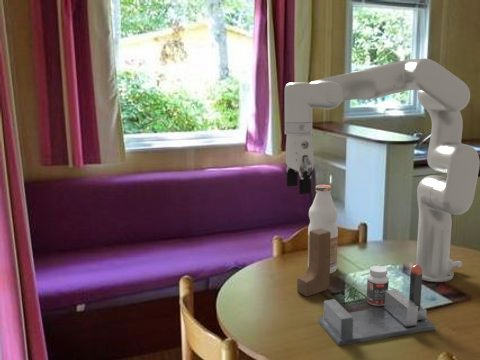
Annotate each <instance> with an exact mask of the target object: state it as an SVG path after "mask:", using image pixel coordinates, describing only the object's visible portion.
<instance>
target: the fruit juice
mask: <svg viewBox="0 0 480 360" xmlns="http://www.w3.org/2000/svg"><path fill="white" fill-rule="evenodd" d="M315 192H316V193H315V197H314V199H313V201H312V204H311V206H310V207H309V208H308V209H309V210H308V218H309V224H308V227H307V229H308V230H307V267H308V266H309V238H310V231H312V230H316V229H320V228H321V229H324V230H326V231H329V232H330V233H331V234H330V275H331V274H333V273H335V272H336V271H337V269H338V238H339V230H338V225H337V219H338V214H339V213H338V209H337V207H336V205H335V203H334V200H333V197H332V194H331V192H332V186H331V185H330V184H329V185H328V184H318V185H316V186H315Z"/></svg>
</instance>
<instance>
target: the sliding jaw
mask: <svg viewBox="0 0 480 360" xmlns="http://www.w3.org/2000/svg"><path fill="white" fill-rule="evenodd" d="M410 271H411V272H410V276H409V277H410V278H409V293H408V295H409V296H408V297H409V298H408V297H407V296H405V295H404V294H403V293H402V292H400V291H398V290H397V289H388V291H385V305H384V307H385V309H386V310H387V311H389V312H390V313H391V314H392V315H393V316H394V317H396V318H397V319H398V320H399V321H400V322H401V323H403V324H404V325H405V326H406V327H407V326H413V325H417V320H421V319H426V318H427V313H428V311H427V309H426V308H425V307H424V306H422V305H421V300H422V285H423V280H422V271H423V270H422V267H421V266H420V265H416V264H414V265H412V266H411V267H410Z"/></svg>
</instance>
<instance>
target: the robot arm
mask: <svg viewBox="0 0 480 360" xmlns="http://www.w3.org/2000/svg"><path fill="white" fill-rule="evenodd" d="M408 91H417V100H418V102H419V103H420V105H421V106H422V107H423V108H424V109H425V111H427V113H428V114H429V117H430V120H431V130H430V131H431V132H430V137H429V138H430V139H429V144H428V150H427V151H428V152H427V158H426V160H427V161H426V162H427V165H428V166H429V168H431V169H432V170H434V171H437V172H439V173H442V174H446V177H444V176H443V175H436V174H432V175H427V176H425V177H423V178H422V179H421V180H420V182H419V183H418V185H417V190H416V195H417V196H416V198H417V205H418V225H417V226H418V228H417V239H416V240H417V243H416V257H415V258H416V260H415V265H420V266H421V267H422V270H423V271H422V281H426V282H432V283H433V282H434V283H445V282H449V281H451V280H452V279H453V278H454V271H453V269H455V268H461V267H463V262H462V261H461V260H455V261H454V260H453V259H451V258H450V252H451V250H450V249H451V241H452V239H451V238H452V225H453V224H452V223H453V221H452V220H453V219H452V215H455V216H456V215H457V216H458V215H463V214H464V213H466V212H467V211H469V209H470V208H471V206H472V204H473V201H474V199H475V193H476V188H477V182H478V176H479V171H480V156H479V153H478V151H477V150H476V149H475V148H474V147H473V146H472V145H469V144H465V143H462V137H463V130H464V129H463V128H464V125H463V123H464V122H463V117H462V116H463V115H462V114H461V111H462V110H463V109H465V108H466V107H467V106H468V104H469V102H470V99H471V90H470V88H469V86H468V85H467V84H466V82H464V80H462V79H460V78H459V77H458V76H457V75H455V74H453V72H451V71H449V70H448V69H447V68H445V67H444V66H443V65H441V64H440V63H438V62H436V60H433V59H430V58H409V59H404V60H400V61H395V62H392V63H386V64H383V65H378V66H374V67H368V68H365V69H359V70H356V71H352V72H349V73H347V72H346V73H344V74H338V75H332V76H330V77H329V76H328V77H323V78H320V79H317V80H313V81H310V82H308V81H307V82H303V81H299V82H295V81H294V82H288V83H286V84H285V86H284V135H286V138H285V139H286V142H285V166H286V169H285V171H286V187H297V186H298V194H299V195H306V194H308V195H309V194H311V187H312V186H311V185H312V174H313V172H312V171H313V170H314V162H315V161H314V160H315V159H314V144H313V137H312V134H313V113H314V112H313V111H314V109H321V110H332V109H333V110H334V109H335V108H337V107H339V106H340V105H341V104H342V102H344V101H355V100H360V101H361V100H362V101H363V100H366V101H367V100H374V99H375V100H376V99H379V98H382V97H386V96H390V95H391V96H392V95H394V94H399V93H404V92H408ZM298 175H299V179H298ZM410 273H411V270H410Z"/></svg>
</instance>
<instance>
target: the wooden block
mask: <svg viewBox="0 0 480 360" xmlns="http://www.w3.org/2000/svg"><path fill="white" fill-rule="evenodd" d="M330 234H331V233H330V232H329V231H326V230H324V229H321V228H320V229H316V230H312V231H310V238H309V266H308V265H307V270H306V271H305V272H304V274H302V275H300V276H298V277H297V281H296V282H297V284H296V285H297V292H298V293H299V294H301V295H303V296H304V297H310V296H313V295H316V294H319V293H322V292H325V291H328V290H330V283H331V281H330V280H331V279H330V278H331V276H330V275H331V274H330ZM327 289H328V290H327ZM324 290H325V291H324Z"/></svg>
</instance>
